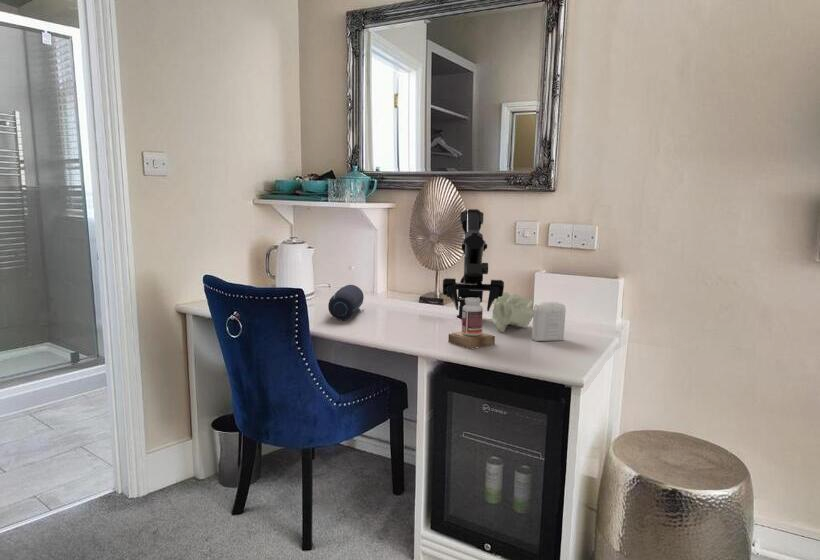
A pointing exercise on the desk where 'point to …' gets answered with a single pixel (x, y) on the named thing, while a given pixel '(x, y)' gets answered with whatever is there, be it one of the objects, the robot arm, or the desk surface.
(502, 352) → the desk surface
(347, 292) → the portable speaker
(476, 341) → the plinth
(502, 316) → the wavy plaster lump
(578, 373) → the desk surface
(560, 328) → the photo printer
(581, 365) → the desk surface
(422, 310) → the desk surface
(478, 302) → the pill bottle
